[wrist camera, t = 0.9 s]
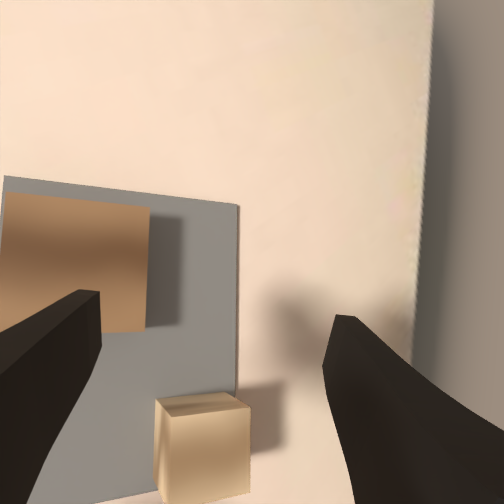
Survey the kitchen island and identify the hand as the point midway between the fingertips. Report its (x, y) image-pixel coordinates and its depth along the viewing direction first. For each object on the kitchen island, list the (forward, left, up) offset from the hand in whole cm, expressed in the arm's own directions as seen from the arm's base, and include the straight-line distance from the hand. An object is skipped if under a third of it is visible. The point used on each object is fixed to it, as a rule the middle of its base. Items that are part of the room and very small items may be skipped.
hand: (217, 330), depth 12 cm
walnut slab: (+3, +4, -13) cm, 14 cm away
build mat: (-1, +1, -13) cm, 13 cm away
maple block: (-7, -3, -13) cm, 15 cm away
